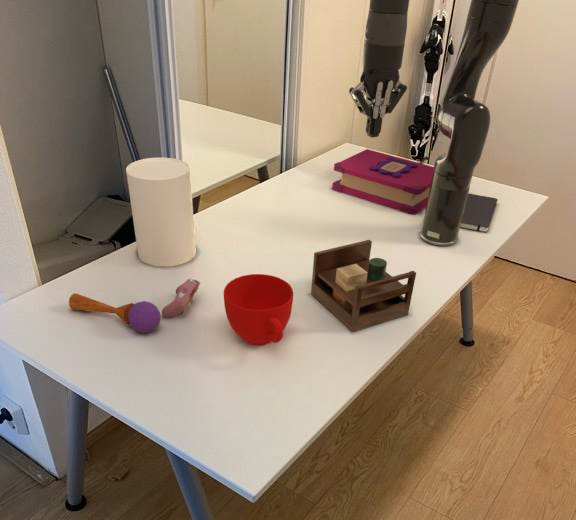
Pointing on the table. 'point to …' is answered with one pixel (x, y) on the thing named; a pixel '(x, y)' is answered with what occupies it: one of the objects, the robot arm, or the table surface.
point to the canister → (162, 210)
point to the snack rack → (359, 286)
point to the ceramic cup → (258, 307)
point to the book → (385, 180)
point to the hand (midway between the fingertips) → (372, 136)
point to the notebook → (478, 212)
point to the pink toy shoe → (181, 298)
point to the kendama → (122, 312)
